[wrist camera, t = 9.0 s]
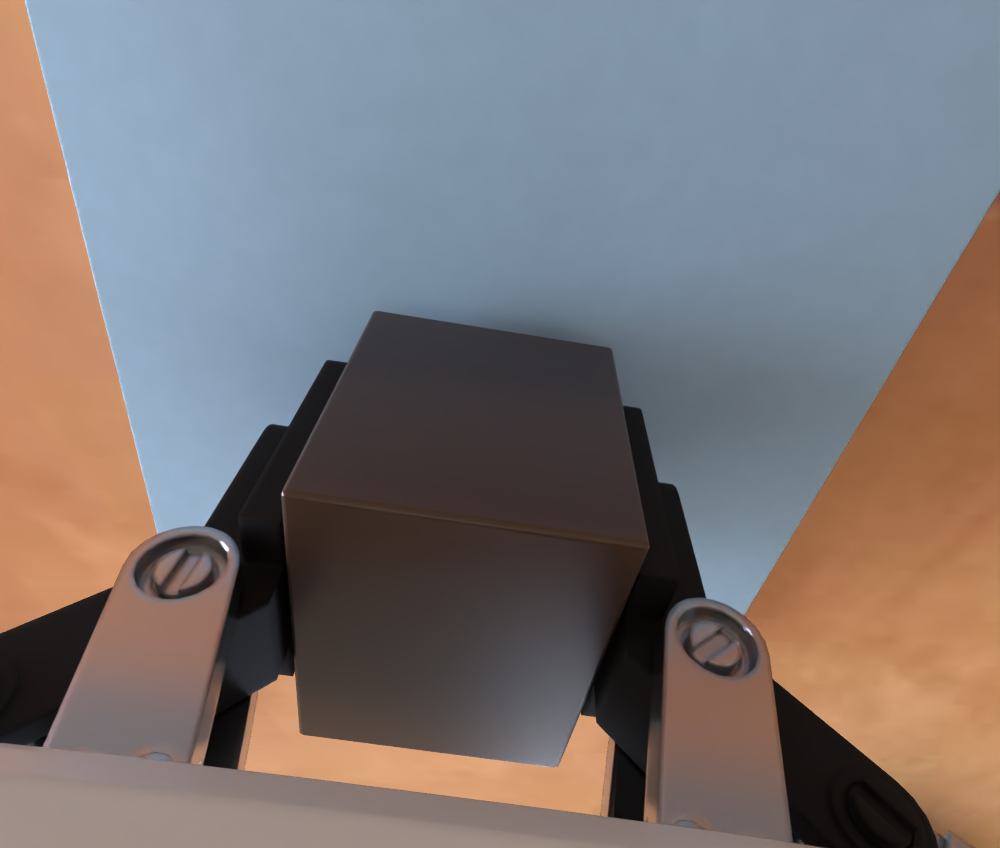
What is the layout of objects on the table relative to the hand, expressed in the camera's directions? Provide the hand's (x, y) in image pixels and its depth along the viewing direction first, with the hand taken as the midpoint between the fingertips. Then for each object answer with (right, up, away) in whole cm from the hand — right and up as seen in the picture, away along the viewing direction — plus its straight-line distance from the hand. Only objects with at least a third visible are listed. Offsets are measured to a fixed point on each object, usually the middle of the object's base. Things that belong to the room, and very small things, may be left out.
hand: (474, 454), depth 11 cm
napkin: (0, +1, +1) cm, 1 cm away
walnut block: (0, 0, 0) cm, 0 cm away
